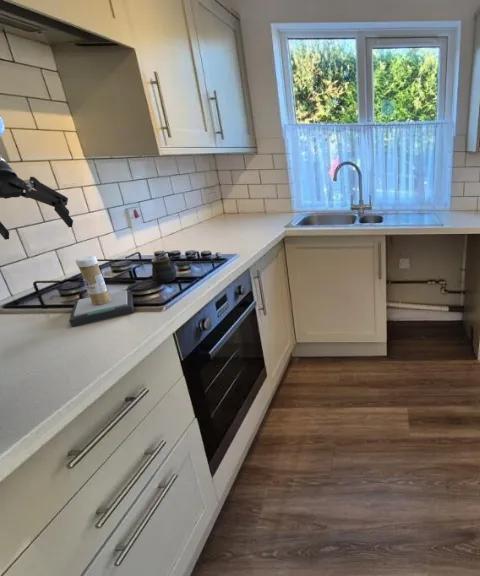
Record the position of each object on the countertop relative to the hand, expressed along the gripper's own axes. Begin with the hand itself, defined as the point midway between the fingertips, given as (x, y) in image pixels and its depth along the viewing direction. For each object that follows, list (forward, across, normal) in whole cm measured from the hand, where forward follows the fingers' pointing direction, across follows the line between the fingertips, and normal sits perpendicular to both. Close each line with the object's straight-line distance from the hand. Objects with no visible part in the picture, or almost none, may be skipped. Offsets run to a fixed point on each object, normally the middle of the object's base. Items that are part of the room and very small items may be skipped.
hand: (41, 229), depth 94 cm
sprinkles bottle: (+20, -5, -11) cm, 23 cm away
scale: (+22, -5, -13) cm, 26 cm away
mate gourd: (+19, -27, -16) cm, 36 cm away
